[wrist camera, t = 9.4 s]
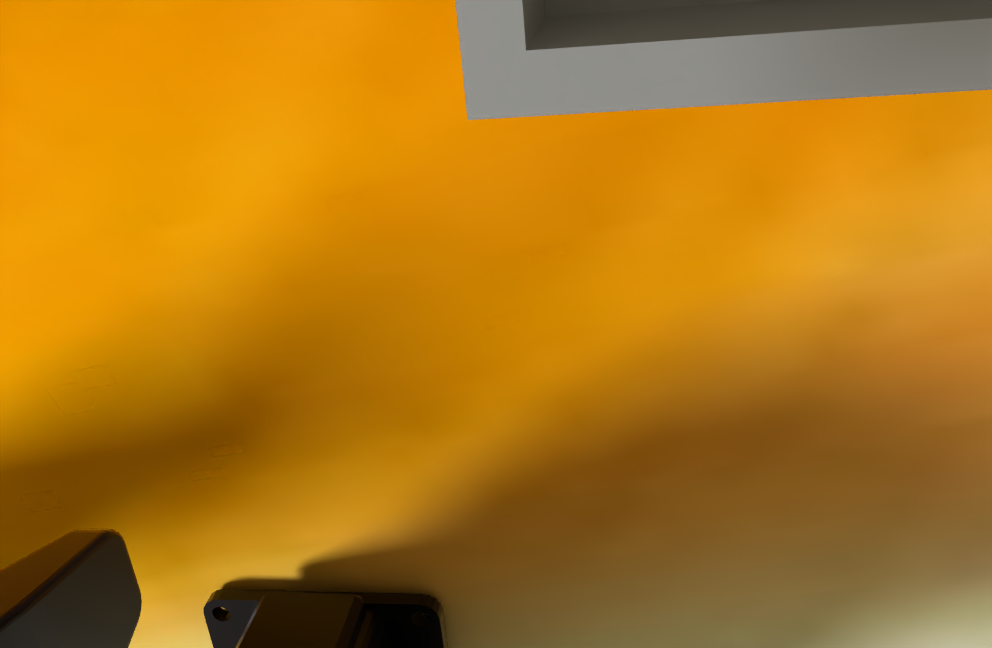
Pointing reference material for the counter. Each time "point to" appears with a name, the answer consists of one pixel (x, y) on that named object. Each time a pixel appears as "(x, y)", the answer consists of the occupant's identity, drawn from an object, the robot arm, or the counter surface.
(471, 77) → the big crate
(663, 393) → the counter surface
